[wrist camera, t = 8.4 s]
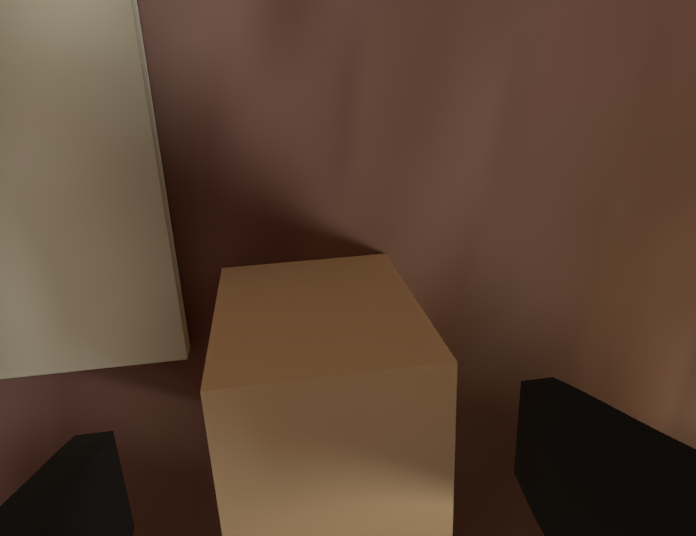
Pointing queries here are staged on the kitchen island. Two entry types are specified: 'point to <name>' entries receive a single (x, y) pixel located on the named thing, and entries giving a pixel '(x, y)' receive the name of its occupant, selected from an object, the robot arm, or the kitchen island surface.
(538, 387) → the robot arm
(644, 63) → the kitchen island surface
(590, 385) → the kitchen island surface
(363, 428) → the tan rectangular block
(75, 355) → the pad
